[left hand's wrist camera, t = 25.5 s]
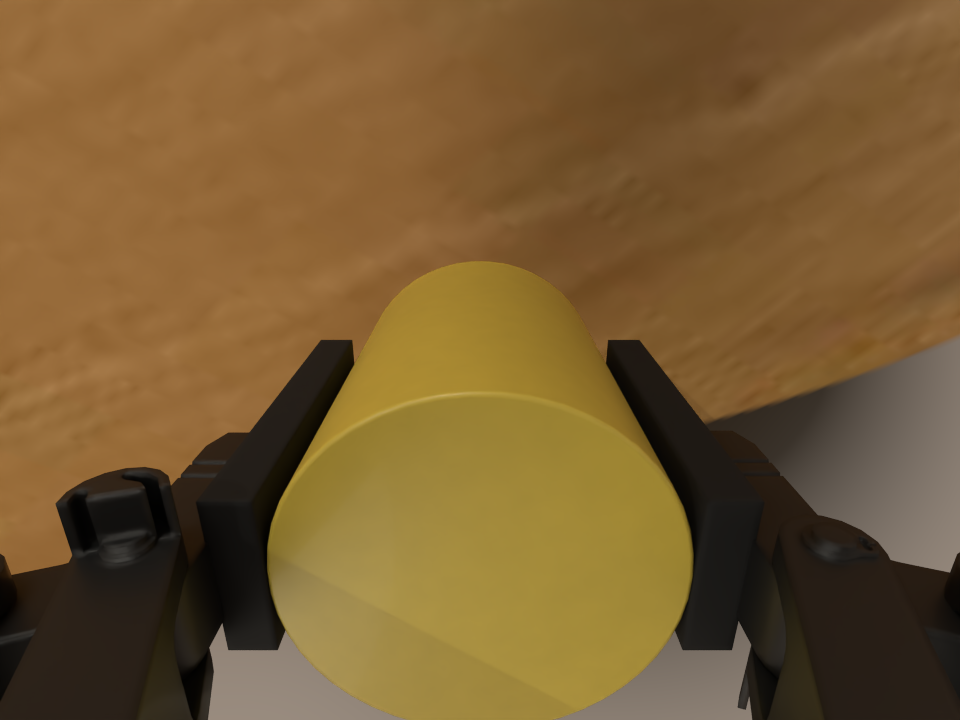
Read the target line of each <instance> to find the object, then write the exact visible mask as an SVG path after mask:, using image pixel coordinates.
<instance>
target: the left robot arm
mask: <svg viewBox="0 0 960 720" xmlns="http://www.w3.org/2000/svg"><path fill="white" fill-rule="evenodd" d="M606 365H607V367H608V368H609V370H610V372H611V374H612V376H613V377H614V379H615V381H616V383H617V385H618V387H619V388H620V390H621V392H622V394H623V396H624V398H625V399H626V401H627V403H628V405H629V407H630V408H631V410H632V412H633V414H634V416H635V418H636V419H637V421H638V423H639V425H640V427H641V428H642V430H643V432H644V434H645V436H646V438H647V439H648V441H649V443H650V445H651V447H652V449H653V450H654V452H655V454H656V456H657V458H658V459H659V461H660V463H661V465H662V467H663V469H664V470H665V472H666V474H667V476H668V478H669V479H670V481H671V483H672V485H673V487H674V489H675V491H676V493H677V495H678V497H679V499H680V501H681V503H682V505H683V507H684V510H685V513H686V516H687V519H688V523H689V526H690V529H691V536H692V543H693V551H694V557H693V578H692V583H691V588H690V593H689V598H688V601H687V604H686V606H685V609H684V612H683V615H682V617H681V620H680V622H679V623H678V625H677V627H676V629H675V632H676V634H677V637H678V639H679V642H680V644H681V647H682V649H683V650H732V648H733V643H734V638H735V634H736V630H737V625H738V621H739V622H740V624H741V626H742V628H743V630H744V632H745V634H746V636H747V637H748V639H749V641H750V643H751V649H750V653H749V657H748V662H747V666H746V670H745V674H744V678H743V682H742V687H741V691H740V695H739V702H738V708H741V709H746V706H747V702H748V698H749V696H750V704H751V712H752V720H960V553H958V554H957V556H956V559H955V562H954V564H953V567H952V569H951V572H950V573H949V572H944V571H939V570H934V569H929V568H924V567H919V566H915V565H909V564H905V563H900V562H896V561H892V560H890V558H889V556H888V554H887V553H886V552H885V551H884V549H883V548H882V547H881V546H880V544H879V543H878V542H877V541H876V540H874V539H873V538H872V537H870V536H869V535H867V534H866V533H865V532H863V531H862V530H860V529H858V528H856V527H853V526H851V525H849V524H847V523H845V522H842V521H839V520H835V519H832V518H828V517H824V516H819V515H817V514H816V513H815V512H814V511H813V509H812V508H811V507H810V506H809V505H808V504H807V503H806V502H805V500H804V499H803V498H802V497H801V496H800V495H799V494H798V492H797V491H796V490H795V489H794V488H793V487H792V486H791V485H790V484H789V482H788V481H787V480H786V479H785V478H784V477H783V476H780V472H779V471H778V470H777V469H776V468H775V467H774V465H773V464H772V463H769V462H768V459H767V458H766V456H765V455H764V454H763V453H762V452H761V451H760V450H759V449H758V447H757V446H756V445H755V444H754V443H752V442H750V441H748V440H747V439H745V438H743V437H742V436H740V435H738V434H737V433H735V432H733V431H709V429H708V428H707V427H706V426H705V424H704V423H703V422H702V420H701V419H700V418H699V416H698V415H697V414H696V413H695V411H694V410H693V409H692V407H691V406H690V405H689V404H688V402H687V401H686V400H685V398H684V397H683V396H682V395H681V393H680V392H679V391H678V389H677V388H676V387H675V386H674V384H673V383H672V382H671V380H670V379H669V378H668V376H667V375H666V374H665V373H664V371H663V370H662V369H661V367H660V366H659V365H658V364H657V362H656V361H655V360H654V358H653V357H652V356H651V355H650V353H649V352H648V351H647V349H646V348H645V347H644V346H643V344H642V343H641V342H640V340H608V348H607V359H606ZM353 366H354V355H353V344H352V340H321V341H320V342H319V343H318V345H317V346H316V347H315V349H314V350H313V351H312V352H311V354H310V355H309V356H308V358H307V359H306V360H305V362H304V363H303V364H302V365H301V367H300V368H299V369H298V371H297V372H296V373H295V374H294V376H293V377H292V378H291V380H290V381H289V382H288V383H287V385H286V386H285V387H284V389H283V390H282V391H281V392H280V394H279V395H278V396H277V398H276V399H275V400H274V402H273V403H272V404H271V405H270V407H269V408H268V409H267V411H266V412H265V413H264V414H263V416H262V417H261V418H260V420H259V421H258V422H257V423H256V425H255V426H254V427H253V429H252V430H251V431H250V432H249V433H227V434H225V435H224V436H222V437H220V438H219V439H217V440H215V441H214V442H212V443H210V444H209V445H207V446H206V447H205V448H204V449H203V450H202V451H201V453H200V454H199V455H198V456H197V457H196V458H195V459H194V460H193V462H192V465H189V466H188V467H187V468H186V470H185V471H184V472H183V473H182V474H181V478H178V479H177V480H176V481H175V482H174V483H173V484H172V485H170V480H169V476H168V475H166V474H165V473H164V472H162V471H161V470H158V469H153V468H147V467H139V468H125V469H121V470H117V471H112V472H108V473H104V474H102V475H99V476H96V477H94V478H91V479H89V480H86V481H84V482H82V483H81V484H79V485H77V486H76V487H74V488H72V489H71V490H69V491H68V492H66V493H65V494H64V495H63V496H62V497H61V498H60V500H59V501H58V502H57V503H56V507H57V510H58V513H59V516H60V519H61V522H62V525H63V528H64V531H65V534H66V537H67V540H68V543H69V546H70V549H71V552H72V557H71V559H70V561H69V563H67V564H63V565H58V566H53V567H49V568H44V569H39V570H34V571H29V572H24V573H19V574H14V575H11V573H10V570H9V568H8V565H7V563H6V560H5V557H4V556H3V555H1V554H0V720H208V714H209V706H210V698H211V689H212V681H213V673H214V670H213V663H212V657H211V653H210V649H209V647H210V645H211V643H212V641H213V639H214V637H215V636H216V634H217V632H218V630H219V628H220V626H221V624H222V623H223V628H224V632H225V637H226V641H227V646H228V650H278V648H279V645H280V643H281V640H282V638H283V635H284V633H285V628H284V626H283V624H282V622H281V620H280V618H279V616H278V614H277V611H276V608H275V605H274V602H273V599H272V595H271V592H270V586H269V579H268V572H267V544H268V539H269V533H270V528H271V523H272V520H273V517H274V514H275V512H276V509H277V506H278V504H279V501H280V499H281V497H282V495H283V493H284V492H285V490H286V488H287V486H288V484H289V483H290V481H291V479H292V477H293V475H294V473H295V472H296V470H297V468H298V466H299V464H300V462H301V461H302V459H303V457H304V455H305V453H306V452H307V450H308V448H309V446H310V444H311V442H312V441H313V439H314V437H315V435H316V433H317V432H318V430H319V428H320V426H321V424H322V422H323V421H324V419H325V417H326V415H327V413H328V412H329V410H330V408H331V406H332V404H333V402H334V401H335V399H336V397H337V395H338V393H339V391H340V390H341V388H342V386H343V384H344V382H345V381H346V379H347V377H348V375H349V373H350V371H351V370H352V368H353Z"/></svg>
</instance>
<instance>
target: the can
mask: <svg viewBox="0 0 960 720" xmlns="http://www.w3.org/2000/svg"><path fill="white" fill-rule="evenodd" d="M693 557H694V551H693V543H692V536H691V529H690V526H689V523H688V519H687V516H686V513H685V510H684V507H683V505H682V503H681V501H680V499H679V497H678V495H677V493H676V491H675V489H674V487H673V485H672V483H671V481H670V479H669V478H668V476H667V474H666V472H665V470H664V469H663V467H662V465H661V463H660V461H659V459H658V458H657V456H656V454H655V452H654V450H653V449H652V447H651V445H650V443H649V441H648V439H647V438H646V436H645V434H644V432H643V430H642V428H641V427H640V425H639V423H638V421H637V419H636V418H635V416H634V414H633V412H632V410H631V408H630V407H629V405H628V403H627V401H626V399H625V398H624V396H623V394H622V392H621V390H620V388H619V387H618V385H617V383H616V381H615V379H614V377H613V376H612V374H611V372H610V370H609V368H608V367H607V365H606V363H605V361H604V359H603V357H602V356H601V354H600V352H599V350H598V348H597V347H596V345H595V343H594V341H593V339H592V337H591V336H590V334H589V332H588V330H587V328H586V326H585V325H584V323H583V321H582V319H581V317H580V316H579V314H578V313H577V311H576V310H575V308H574V307H573V305H572V304H571V303H570V302H569V300H568V299H567V298H566V297H565V296H564V295H563V294H562V293H561V292H560V291H559V290H558V289H556V288H555V287H554V286H553V285H551V284H550V283H549V282H547V281H546V280H544V279H542V278H541V277H539V276H537V275H536V274H533V273H531V272H529V271H527V270H524V269H522V268H519V267H515V266H512V265H508V264H504V263H497V262H491V261H472V262H463V263H457V264H453V265H449V266H445V267H442V268H439V269H437V270H434V271H431V272H429V273H427V274H425V275H423V276H422V277H420V278H418V279H416V280H415V281H413V282H412V283H411V284H409V285H408V286H407V287H405V288H404V289H403V290H402V291H401V292H400V293H399V294H398V295H397V296H396V297H395V298H394V299H393V300H392V301H391V302H390V304H389V305H388V306H387V308H386V309H385V310H384V312H383V313H382V315H381V317H380V319H379V321H378V322H377V324H376V326H375V328H374V330H373V331H372V333H371V335H370V337H369V339H368V341H367V342H366V344H365V346H364V348H363V350H362V351H361V353H360V355H359V357H358V359H357V361H356V362H355V364H354V366H353V368H352V370H351V371H350V373H349V375H348V377H347V379H346V381H345V382H344V384H343V386H342V388H341V390H340V391H339V393H338V395H337V397H336V399H335V401H334V402H333V404H332V406H331V408H330V410H329V412H328V413H327V415H326V417H325V419H324V421H323V422H322V424H321V426H320V428H319V430H318V432H317V433H316V435H315V437H314V439H313V441H312V442H311V444H310V446H309V448H308V450H307V452H306V453H305V455H304V457H303V459H302V461H301V462H300V464H299V466H298V468H297V470H296V472H295V473H294V475H293V477H292V479H291V481H290V483H289V484H288V486H287V488H286V490H285V492H284V493H283V495H282V497H281V499H280V501H279V504H278V506H277V509H276V512H275V514H274V517H273V520H272V523H271V528H270V533H269V539H268V544H267V572H268V579H269V586H270V592H271V595H272V599H273V602H274V605H275V608H276V611H277V614H278V616H279V618H280V620H281V622H282V624H283V626H284V628H285V630H286V632H287V634H288V635H289V637H290V638H291V639H292V641H293V642H294V644H295V645H296V647H297V648H298V650H299V651H300V652H301V653H302V654H303V655H304V657H305V658H306V659H307V660H308V661H309V662H310V663H311V664H312V665H313V667H314V668H315V669H317V670H318V671H319V672H320V673H321V674H322V675H324V676H325V677H326V678H327V679H328V680H329V681H330V682H332V683H333V684H334V685H336V686H337V687H339V688H340V689H342V690H343V691H345V692H346V693H348V694H349V695H351V696H352V697H354V698H356V699H358V700H360V701H362V702H364V703H366V704H368V705H369V706H371V707H374V708H376V709H378V710H381V711H383V712H386V713H388V714H391V715H393V716H396V717H400V718H403V719H406V720H554V719H558V718H561V717H564V716H567V715H569V714H572V713H575V712H577V711H580V710H583V709H585V708H587V707H589V706H591V705H593V704H595V703H597V702H599V701H601V700H603V699H605V698H606V697H608V696H609V695H611V694H613V693H614V692H616V691H617V690H619V689H620V688H622V687H624V686H625V685H626V684H627V683H629V682H630V681H631V680H632V679H634V678H635V677H636V676H637V675H639V674H640V673H641V672H642V671H643V670H644V669H645V668H646V667H647V666H648V665H649V664H650V663H651V662H652V661H653V660H654V659H655V658H656V657H657V655H658V654H659V653H660V651H661V650H662V649H663V647H664V646H665V645H666V643H667V642H668V641H669V639H670V638H671V636H672V634H673V632H674V631H675V629H676V627H677V625H678V623H679V622H680V620H681V617H682V615H683V612H684V609H685V606H686V604H687V601H688V598H689V593H690V588H691V583H692V578H693Z"/></svg>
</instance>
